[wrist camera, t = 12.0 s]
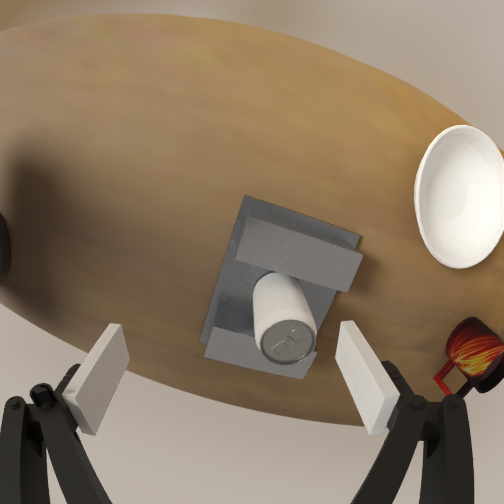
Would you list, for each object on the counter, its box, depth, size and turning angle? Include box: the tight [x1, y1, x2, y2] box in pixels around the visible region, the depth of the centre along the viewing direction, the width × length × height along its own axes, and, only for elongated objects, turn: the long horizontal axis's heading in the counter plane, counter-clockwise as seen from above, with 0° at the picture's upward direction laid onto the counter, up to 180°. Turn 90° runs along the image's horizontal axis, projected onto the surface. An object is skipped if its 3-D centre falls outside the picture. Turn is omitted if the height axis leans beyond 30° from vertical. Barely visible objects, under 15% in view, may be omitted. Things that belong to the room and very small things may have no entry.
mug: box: [433, 317, 504, 398], centre depth 39 cm, size 10×14×12 cm
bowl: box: [414, 125, 504, 269], centre depth 33 cm, size 20×20×6 cm
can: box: [253, 272, 317, 366], centre depth 33 cm, size 6×6×12 cm
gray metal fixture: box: [199, 195, 363, 379], centre depth 37 cm, size 16×22×6 cm
